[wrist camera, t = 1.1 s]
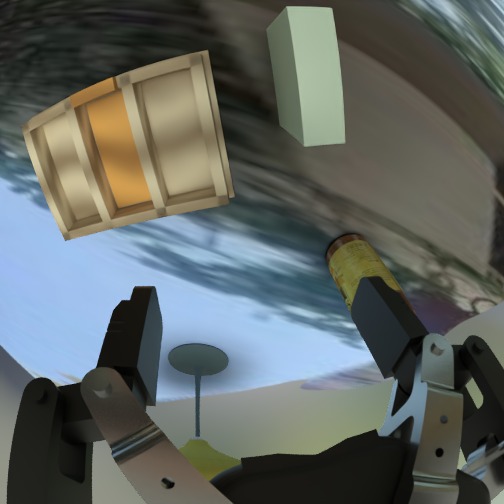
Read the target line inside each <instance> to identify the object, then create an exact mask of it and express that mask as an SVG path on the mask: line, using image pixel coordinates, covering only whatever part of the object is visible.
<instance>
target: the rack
mask: <svg viewBox="0 0 504 504" xmlns="http://www.w3.org/2000/svg"><path fill="white" fill-rule="evenodd" d="M21 127H22V131H23V135H24V138H25V142H26V145H27V148H28V151H29V155H30V158H31V161H32V164H33V166H34V169H35V172H36V175H37V178H38V180H39V183H40V185H41V188H42V190H43V193H44V195H45V198H46V200H47V203H48V205H49V207H50V210H51V212H52V214H53V216H54V218H55V221H56V223H57V225H58V227H59V229H60V231H61V233H62V235H63V237H64V239H65V241H67V240H70V239H74V238H78V237H82V236H85V235H89V234H93V233H97V232H101V231H105V230H109V229H113V228H117V227H122V226H126V225H130V224H134V223H139V222H143V221H148V220H152V219H157V218H161V217H166V216H171V215H176V214H180V213H185V212H190V211H195V210H200V209H206V208H211V207H216V206H222V205H227V204H229V198H232V197H235V196H234V189H233V184H232V179H231V173H230V168H229V162H228V157H227V152H226V146H225V141H224V135H223V130H222V125H221V119H220V114H219V108H218V103H217V97H216V92H215V86H214V80H213V75H212V69H211V64H210V58H209V52H208V50H206V51H201V52H196V53H192V54H187V55H183V56H179V57H175V58H171V59H167V60H164V61H160V62H157V63H154V64H150V65H147V66H144V67H141V68H138V69H135V70H132V71H129V72H126V73H124V74H121V75H118V76H116V77H112V78H109V79H107V80H104V81H102V82H100V83H97V84H95V85H93V86H90V87H88V88H86V89H84V90H82V91H80V92H78V93H76V94H74V95H71V96H70V97H69V98H67V99H65V100H63V101H61V102H59V103H57V104H55V105H53V106H52V107H50V108H48V109H46V110H45V111H43V112H41V113H40V114H38V115H36V116H35V117H33V118H31V121H29V122H28V123H26V124H24V125H23V126H21Z"/></svg>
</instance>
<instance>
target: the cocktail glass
mask: <svg viewBox="0 0 504 504" xmlns="http://www.w3.org/2000/svg"><path fill="white" fill-rule="evenodd" d="M168 359H169V362H170V364H171V365H172V366H173V367H174V368H175V369H177V370H179V371H181V372H183V373H186V374H190V375H195V385H196V437H193V438H191V439H190V440H189V441H188V442H187V444H186V445H185V446H184V447H182V448H180V449H178V450H179V451H180V452H181V454H182V455H183V456H184V457H185V458H186V459H187V460H188V461H189V462H190V463H191V464H192V465H193V466H194V467H195V468H196V469H197V470H198V471H199V472H200V473H201V474H202V475H203V476H204V477H205V478H206V479H207V480H208V481H210V480H211V479H212V478H214V477H215V476H216V475H218V474H219V473H221V472H223V471H225V470H227V469H229V468H231V467H234V466H237V465H240V464H241V461H240V460H238V459H235V458H233V457H230V456H227V455H225V454H223V453H220V452H218V451H216V450H215V449H213V448H212V447H211V446H210V445H209V444H208V442H207V441H206V440H205V439H203V438H202V437H200V428H199V427H200V426H199V407H200V406H199V405H200V404H199V403H200V402H199V401H200V379H201V376H205V375H212V374H216V373H218V372H221V371H222V370H224V369H225V368H226V367H227V365H228V357H227V355H226V354H225V353H224V352H223V351H221V350H219V349H218V348H215V347H213V346H209V345H204V344H186V345H182V346H179V347H176V348H175V349H173V350H172V351H171V352H170V354H169V357H168Z"/></svg>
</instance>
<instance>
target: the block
mask: <svg viewBox="0 0 504 504" xmlns="http://www.w3.org/2000/svg"><path fill="white" fill-rule="evenodd" d="M266 33H267V39H268V45H269V51H270V58H271V64H272V71H273V78H274V85H275V93H276V100H277V108H278V116H279V124H280V126H281V127H282V128H284V129H285V130H286V131H287V132H288V133H289V134H291V135H292V136H293V137H294V138H295V139H296V140H297V141H299V142H300V143H301V144H302V145H303V146H304V147H306V146H316V145H328V144H341V143H345V125H344V106H343V92H342V80H341V70H340V60H339V52H338V44H337V37H336V30H335V24H334V18H333V12H332V8H324V7H286V8H285V9H284V10H283V11H282V12H281V13H280V14H279V15H278V16H277V18H276V19H275V20H274V21H273V22H272V23H271V24H270V26H269V27H268V28H267V29H266Z"/></svg>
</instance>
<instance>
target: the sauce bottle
mask: <svg viewBox="0 0 504 504" xmlns="http://www.w3.org/2000/svg"><path fill="white" fill-rule="evenodd" d="M326 260H327V263H328V266H329V270H330V273H331V275H332V277H333V279H334V281H335V283H336V285H337V287H338V289H339V291H340V293H341V295H342V297H343V299H344V301H345V303H346V305H347V307H348V309H349V312H350V314H351V305H352V302H353V299H354V296H355V293H356V290H357V287H358V284H359V281H360V279H361V278H362V277H368V276H380V277H381V278H382V279H383V280H384V281H385V283H386V284H387V285H388V286H390V287H391V288H392V289H394V290H395V291H396V292H398V293H399V294H400V295H401V296H402V298H403V299H404V300H405V302H406V303H407V304H408V305H409V307H410V308H411V310H412V311H413V312H414V313H415V311H414V309H413V307H412V306H411V305H410V303H409V301H408V300H407V298H406V297H405V294H404V292H403V290H402V289H401V287H400V286H399V284H398V283H397V281H396V280H395V279H394V277H393V276H392V274H391V273H390V271H389V270H388V268H387V267H386V266H385V264H384V263H383V261H382V260H381V259H380V257H379V256H378V255H377V253H376V252H375V251H374V249H373V248H372V247H371V245H370V244H369V243H367V242H366V240H365V239H364V238H363V237H362V236H359V235H354V234H353V235H345V236H343V237H340V238H338V239H337V240H336V241H335V242H334V243H333V244H332V245H331V246H330V248H329V250H328V252H327V257H326ZM415 315H416V314H415ZM357 329H358V328H357ZM358 331H359V330H358ZM359 333H360V332H359ZM360 335H361V334H360ZM361 337H362V336H361ZM362 338H363V337H362ZM393 377H394V378H395V381H396V379H397V378H396V377H395V376H393Z"/></svg>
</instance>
